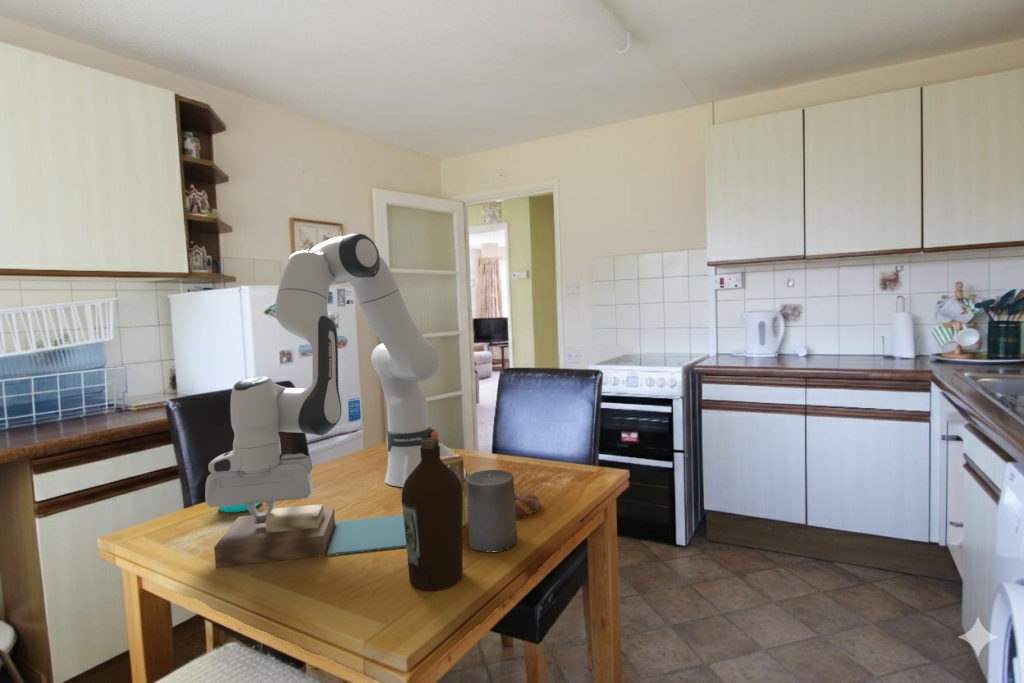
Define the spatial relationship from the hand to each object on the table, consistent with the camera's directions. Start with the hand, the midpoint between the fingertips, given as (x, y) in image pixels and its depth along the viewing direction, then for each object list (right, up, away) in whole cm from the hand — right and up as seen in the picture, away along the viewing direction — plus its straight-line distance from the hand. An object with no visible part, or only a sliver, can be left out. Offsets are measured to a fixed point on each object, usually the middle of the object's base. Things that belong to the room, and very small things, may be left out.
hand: (262, 522), depth 117 cm
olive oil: (+38, -5, -16) cm, 42 cm away
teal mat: (+21, -4, +4) cm, 22 cm away
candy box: (+37, -3, +7) cm, 37 cm away
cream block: (+6, -1, +1) cm, 7 cm away
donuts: (-16, -4, +25) cm, 30 cm away
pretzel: (+52, -2, +15) cm, 55 cm away
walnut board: (+3, -5, +1) cm, 6 cm away
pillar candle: (+48, -4, -2) cm, 48 cm away
